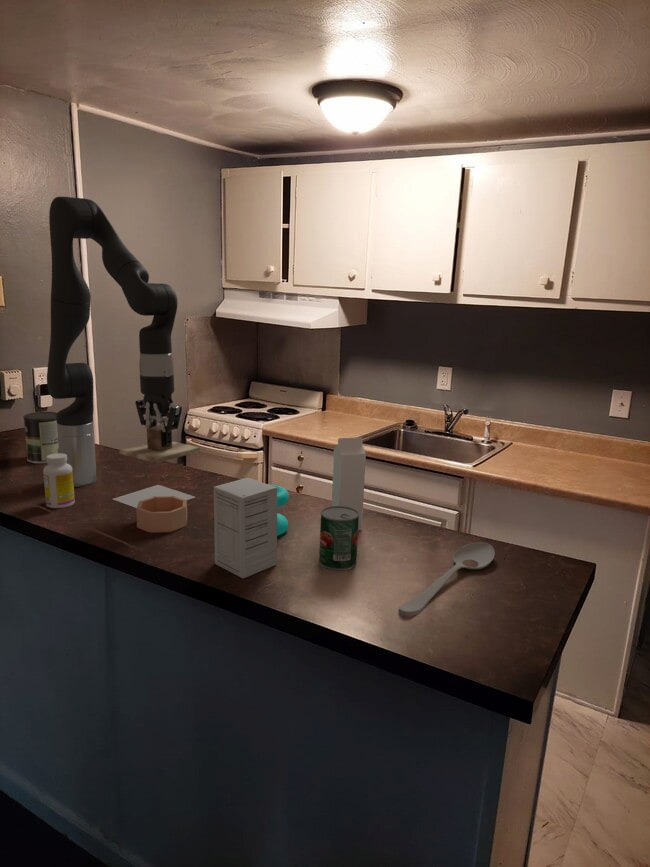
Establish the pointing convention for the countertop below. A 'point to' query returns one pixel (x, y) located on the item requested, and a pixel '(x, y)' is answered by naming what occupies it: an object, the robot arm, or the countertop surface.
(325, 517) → the canned tomato
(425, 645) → the countertop surface
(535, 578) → the countertop surface
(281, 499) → the donuts
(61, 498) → the supplement bottle
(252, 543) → the supplement box
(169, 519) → the bowl
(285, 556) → the countertop surface
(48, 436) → the coffee can
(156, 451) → the lid
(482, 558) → the spoon
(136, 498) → the mat
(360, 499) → the milk
